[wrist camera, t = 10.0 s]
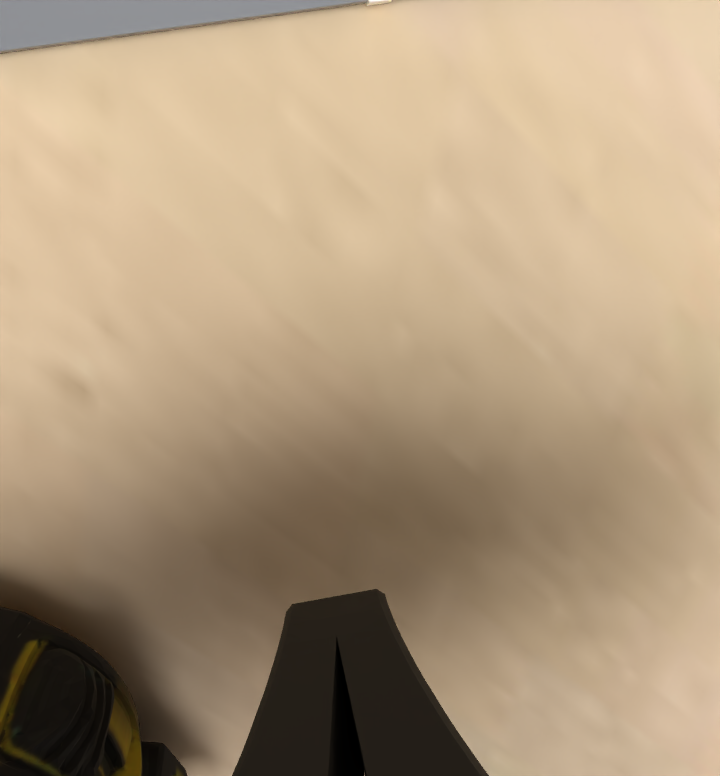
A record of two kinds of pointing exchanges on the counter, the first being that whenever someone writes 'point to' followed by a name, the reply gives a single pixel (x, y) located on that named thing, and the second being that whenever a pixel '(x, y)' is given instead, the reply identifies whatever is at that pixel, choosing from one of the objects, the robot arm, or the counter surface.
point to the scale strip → (131, 17)
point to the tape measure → (67, 709)
